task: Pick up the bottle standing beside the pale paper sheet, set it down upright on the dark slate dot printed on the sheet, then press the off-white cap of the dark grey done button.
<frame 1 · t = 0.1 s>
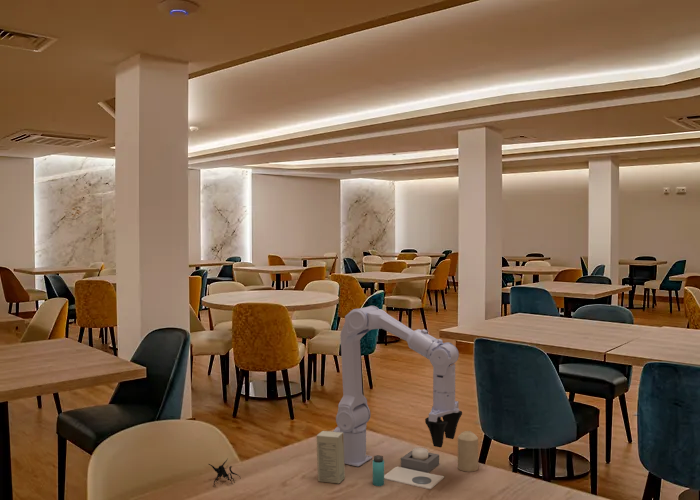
hand: (443, 442, 163), 10 cm above the table, tool pointing down, fingers open, 7 cm apart
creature: (225, 482, 163), on the table
skincare box: (330, 480, 164), on the table
done button: (420, 455, 174), point 3 cm above the table, slide at 0.0 cm
bottle: (378, 483, 161), on the table
candle: (467, 468, 172), on the table
button housing: (420, 465, 174), on the table
paper: (412, 478, 165), on the table
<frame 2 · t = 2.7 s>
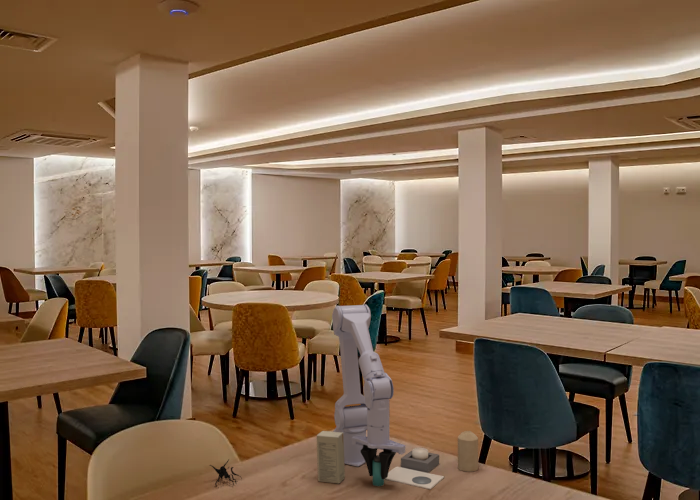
hand: (378, 476, 161), 2 cm above the table, tool pointing down, fingers closed on bottle, 3 cm apart
bottle: (378, 483, 161), on the table, touching gripper
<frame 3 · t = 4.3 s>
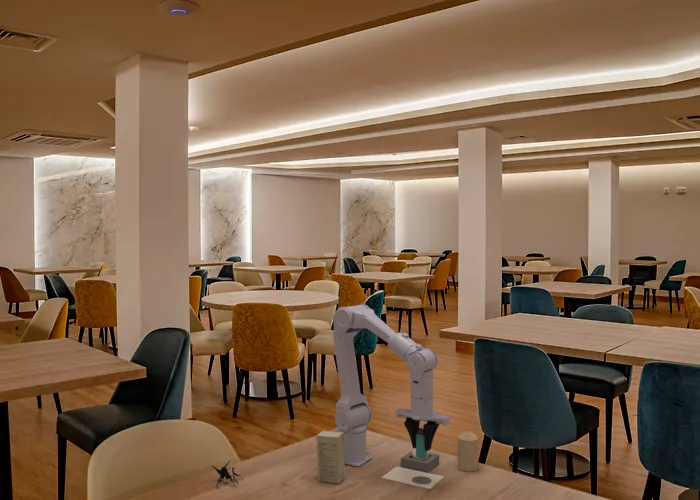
hand: (421, 448, 163), 9 cm above the table, tool pointing down, fingers closed on bottle, 3 cm apart
bottle: (421, 456, 163), point 7 cm above the table, touching gripper
when the fingers open (3 cm above the table, at t = 5.9 s): bottle stays where it is, resting on paper.
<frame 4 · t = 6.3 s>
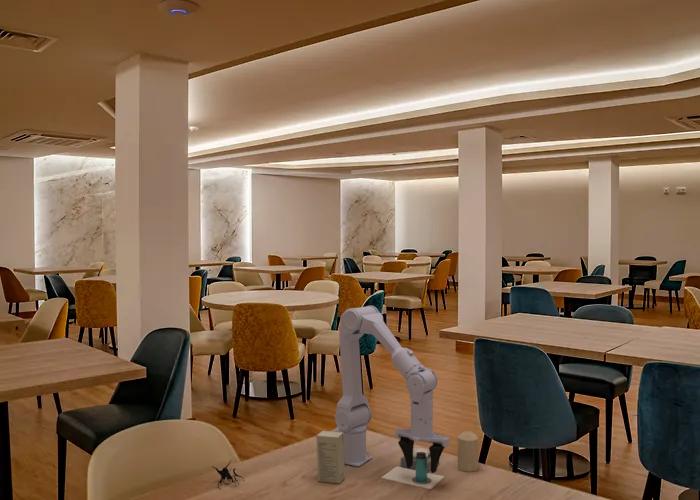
hand: (421, 469, 163), 3 cm above the table, tool pointing down, fingers open, 6 cm apart
bottle: (421, 480, 163), resting on paper
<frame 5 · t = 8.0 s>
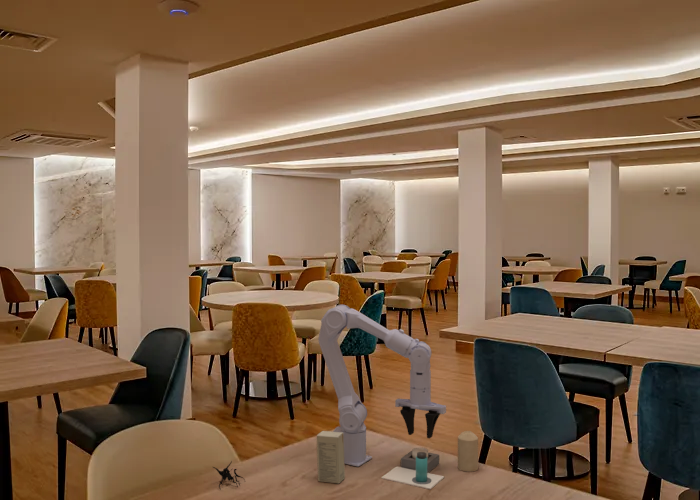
hand: (420, 435, 174), 8 cm above the table, tool pointing down, fingers open, 5 cm apart
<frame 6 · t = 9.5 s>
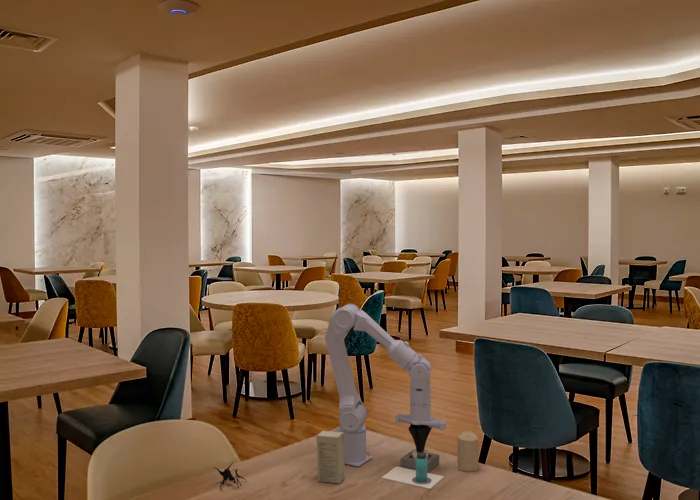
hand: (420, 451, 174), 4 cm above the table, tool pointing down, fingers closed, pressing on done button
done button: (420, 456, 174), point 3 cm above the table, slide at 0.3 cm, touching gripper
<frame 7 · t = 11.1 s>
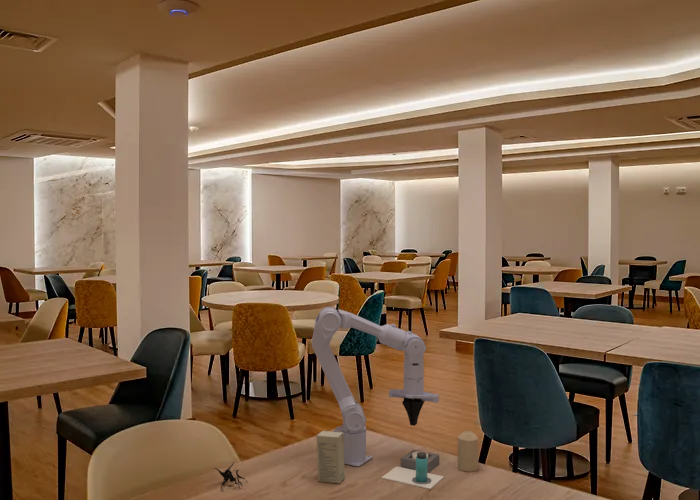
hand: (413, 424, 179), 10 cm above the table, tool pointing down, fingers closed
done button: (420, 459, 174), point 2 cm above the table, slide at 1.0 cm
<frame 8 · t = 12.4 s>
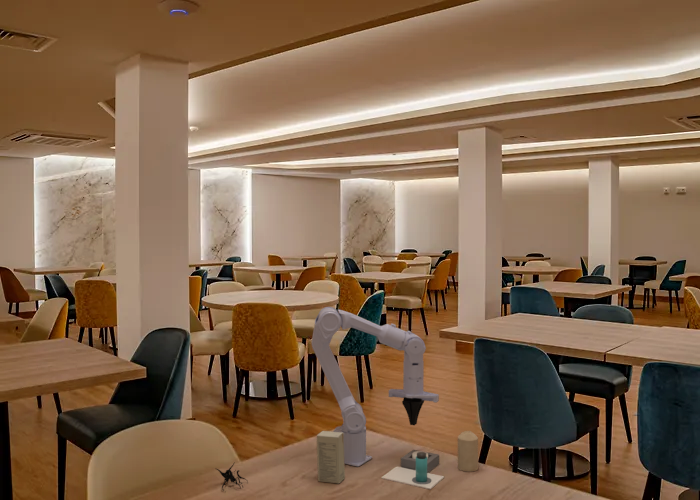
hand: (413, 424, 179), 10 cm above the table, tool pointing down, fingers closed
at the end: bottle 0.1 cm from the target spot, resting on paper; bottle tilted 0°; done button slide at 1.0 cm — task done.
